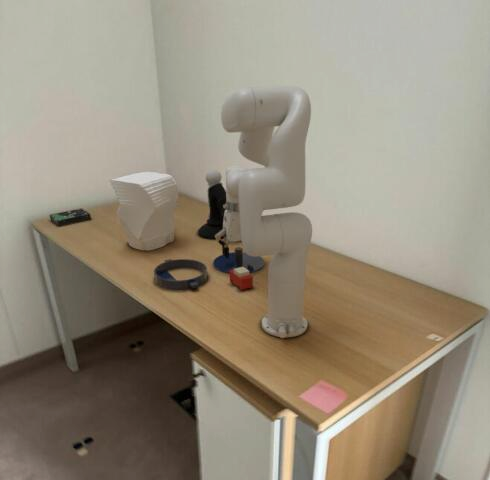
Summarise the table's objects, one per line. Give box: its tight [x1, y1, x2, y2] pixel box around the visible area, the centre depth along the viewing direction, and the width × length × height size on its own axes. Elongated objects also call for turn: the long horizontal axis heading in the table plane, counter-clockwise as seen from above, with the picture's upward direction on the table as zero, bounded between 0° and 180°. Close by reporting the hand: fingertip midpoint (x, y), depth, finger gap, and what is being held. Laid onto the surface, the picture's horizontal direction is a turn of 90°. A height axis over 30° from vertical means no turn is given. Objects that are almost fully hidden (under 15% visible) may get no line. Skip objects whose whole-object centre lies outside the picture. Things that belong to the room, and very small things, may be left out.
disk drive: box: [49, 208, 92, 227], centre depth 205 cm, size 10×3×15 cm
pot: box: [153, 258, 208, 291], centre depth 153 cm, size 17×23×4 cm
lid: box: [212, 246, 266, 275], centre depth 162 cm, size 18×18×6 cm
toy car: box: [229, 267, 254, 291], centre depth 148 cm, size 8×4×6 cm, turn 30°
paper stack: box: [109, 171, 179, 252], centre depth 176 cm, size 21×27×26 cm
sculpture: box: [197, 169, 227, 240], centre depth 182 cm, size 15×24×25 cm, turn 34°
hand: (238, 254), depth 162 cm, fingers open, 9 cm apart
